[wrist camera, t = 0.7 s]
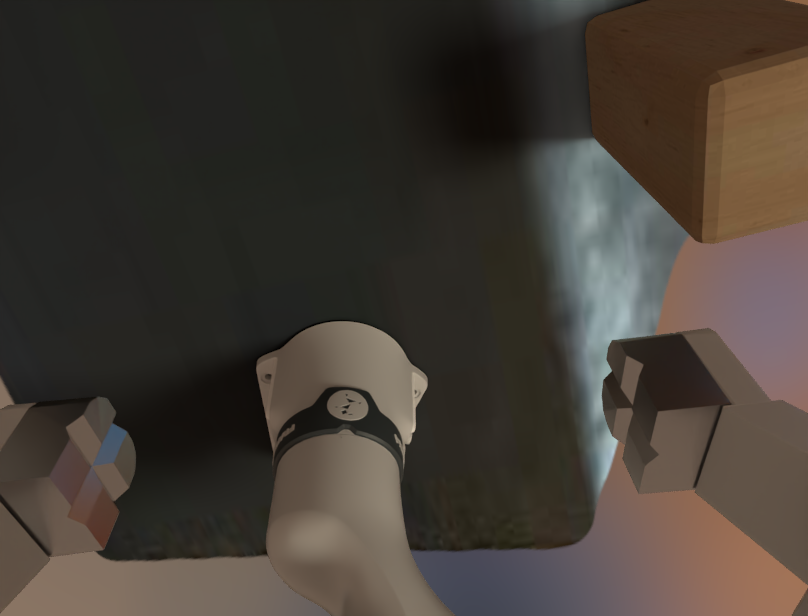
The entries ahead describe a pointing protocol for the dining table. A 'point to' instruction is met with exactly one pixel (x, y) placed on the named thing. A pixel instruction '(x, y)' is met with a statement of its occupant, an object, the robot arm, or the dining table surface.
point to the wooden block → (707, 109)
